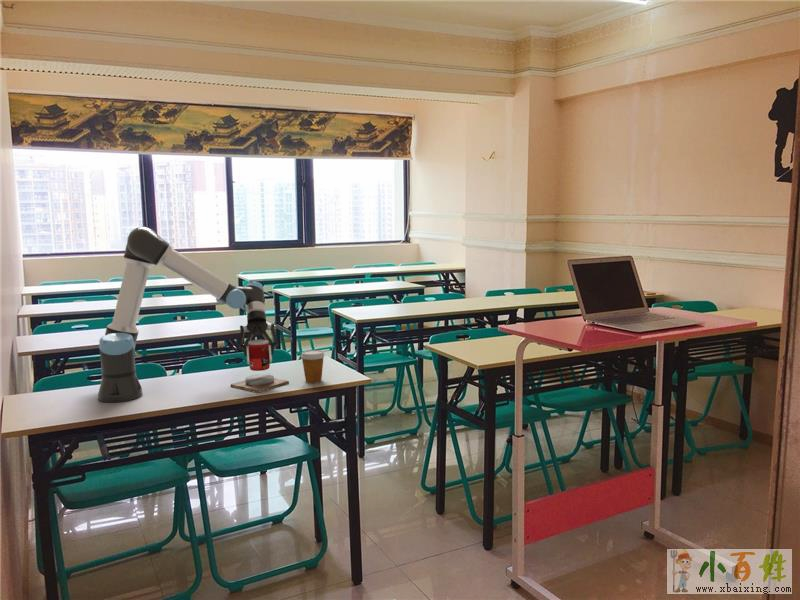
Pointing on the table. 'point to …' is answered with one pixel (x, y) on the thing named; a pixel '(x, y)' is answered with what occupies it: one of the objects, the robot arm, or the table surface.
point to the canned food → (259, 355)
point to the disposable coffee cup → (313, 365)
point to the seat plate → (259, 388)
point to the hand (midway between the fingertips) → (259, 361)
